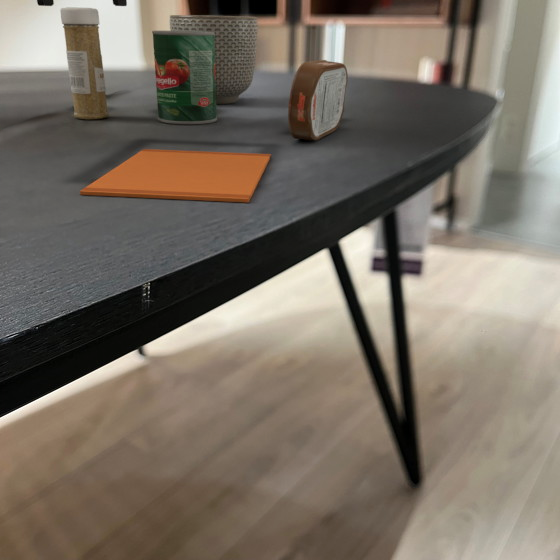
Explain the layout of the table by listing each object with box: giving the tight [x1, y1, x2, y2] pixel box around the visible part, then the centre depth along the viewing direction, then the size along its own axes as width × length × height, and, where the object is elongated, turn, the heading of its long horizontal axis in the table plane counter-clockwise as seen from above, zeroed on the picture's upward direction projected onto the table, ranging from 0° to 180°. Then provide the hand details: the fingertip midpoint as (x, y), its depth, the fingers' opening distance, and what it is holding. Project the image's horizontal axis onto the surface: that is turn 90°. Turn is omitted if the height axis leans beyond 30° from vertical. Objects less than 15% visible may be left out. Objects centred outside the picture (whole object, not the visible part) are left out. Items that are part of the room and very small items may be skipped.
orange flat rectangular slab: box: [79, 148, 272, 204], centre depth 50 cm, size 13×16×1 cm
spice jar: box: [59, 6, 109, 121], centre depth 74 cm, size 5×5×14 cm
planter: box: [169, 14, 259, 105], centre depth 93 cm, size 14×14×13 cm
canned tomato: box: [151, 30, 218, 125], centre depth 75 cm, size 8×8×11 cm
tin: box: [287, 59, 349, 142], centre depth 67 cm, size 15×3×8 cm, turn 159°
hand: (83, 5), depth 72 cm, fingers open, 9 cm apart
